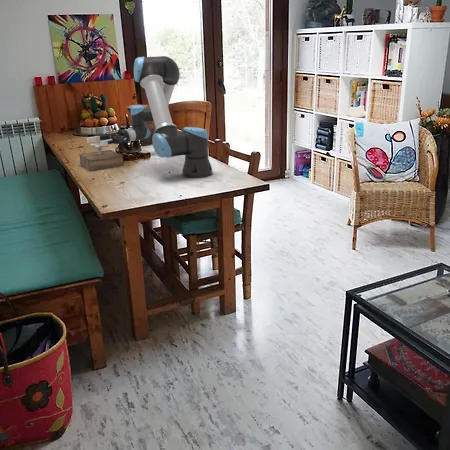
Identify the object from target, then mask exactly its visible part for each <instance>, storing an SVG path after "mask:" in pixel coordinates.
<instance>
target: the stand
mask: <svg viewBox="0 0 450 450" xmlns="http://www.w3.org/2000/svg"><path fill="white" fill-rule="evenodd" d="M79 162H80V166H81V167H83V168H85V169H87V170H88V171H89V172H95V171H102V170H108V168H109V169H115V167H116V168H121V166H122V167H124V158H123V154H120V153H118V152H116V151H114V150H111V149H106V150H102V155H99V152H98V151H93V152H87V153H80V154H79Z"/></svg>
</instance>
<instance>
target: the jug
mask: <svg viewBox="0 0 450 450" xmlns="http://www.w3.org/2000/svg"><path fill="white" fill-rule="evenodd" d="M136 105H142V106H143V107H144V109H145V108H150V106H149V104H139V103H137V104H136V103H135V104H129V105H126V106H125V109H126V110H127V112H128V113H129V121H128V123H129V125H130V126H132V120H131V107H132V106H136ZM145 126H147V127H148V128H149V130H150V135H149V137H148V138H146V139H143V140H140V144H141V147H143V146H148V145H149V146H150V145H153V142H152V137H153V135H154V131H155V130H156V127H155V123H154V121H150V122H145Z"/></svg>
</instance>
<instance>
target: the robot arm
mask: <svg viewBox="0 0 450 450" xmlns="http://www.w3.org/2000/svg"><path fill="white" fill-rule="evenodd" d="M180 76H181V73H180V68H179V66H178V64H177V62H176V61H175V60H174V59H173V58H171V57H169V56H165V55H163V56H162V55H160V56H159V55H158V56H138V57H136V58H135V59H134V63H133V80H134V81H135V82H137V83H139V85H140V87H141V88H142V89H144V91H145V95H146V98H147V101H148V105H149V106H150V108H145V109H144V107H143V106H142V105H143V104H141V105H136V106H132V107H131V120H132V128H128V129H126V128H124V129H123V128H122V129H120V130H117V132H116V133H109V134H100V135H98V134H97V135H96V134H95V135H94V136H90V137H86V138H85V139H86V144H92V143H95V142H96V143H97V139H96V137H97V136H100V142H101V143H102V146H106V145H109V146H111V145H119V144H126V143H130V144H131V141H137V140H143V139H146V138H148V137H149V135H150V130H149V128H148V127H147V126H145V122H150V121H154V123H155V127H156V130H155V131H154V135H153V137H152V142H153V143H152V147H153V149H154V152H155V154H156V155H157V156H158V157H160V158H172V157H173V158H174V157H181V156H184V163H183V167H182V171H181V172H182V176H184V177H186V178H193V179H194V178H196V179H198V178H205V177H208V176H209V177H210V176H211V175H213V168H212V165H211V162H210V159H209V137H208V131H207V130H206V129H205V128H201V127H194V126H185V127H183V129H182V130H181V131H179V130H178V129H179V128H178V126H177V125H175V124H174V123H173V119H172V117H171V113H170V109H169V105H170V102H171V99H172V96H173V92H174V89H175V86H176V85H177V84H178V83H179V80H180Z"/></svg>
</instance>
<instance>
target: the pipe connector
mask: <svg viewBox="0 0 450 450" xmlns="http://www.w3.org/2000/svg"><path fill="white" fill-rule="evenodd" d="M96 139H97V142H96V143H89V147H90V148H93V149H94V150H95V151H97V152H99V155H102V151H103V150H102V148H109V146H110V145H106V146H102V143H101V141H100V136H97V137H96Z"/></svg>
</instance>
